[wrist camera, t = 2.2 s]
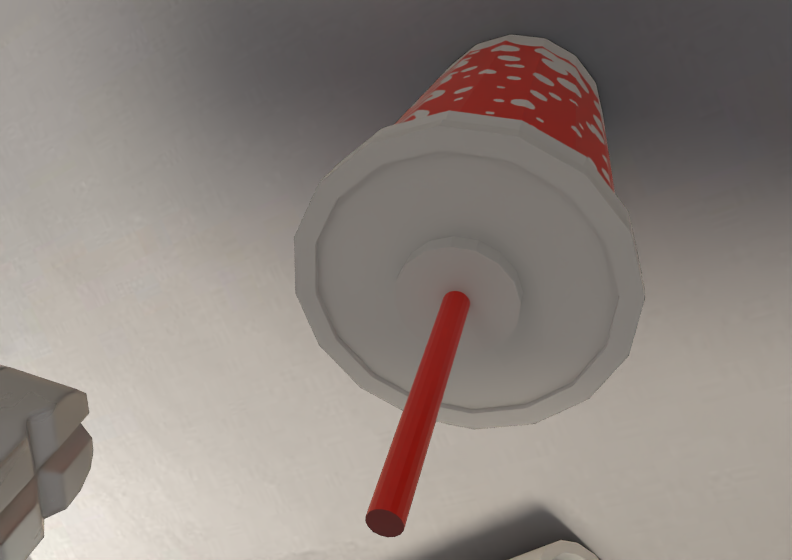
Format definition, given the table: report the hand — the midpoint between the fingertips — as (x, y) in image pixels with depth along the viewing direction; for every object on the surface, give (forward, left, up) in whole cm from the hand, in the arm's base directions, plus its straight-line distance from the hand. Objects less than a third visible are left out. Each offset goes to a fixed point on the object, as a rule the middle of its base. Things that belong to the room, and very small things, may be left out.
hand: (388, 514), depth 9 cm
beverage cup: (0, 0, -14) cm, 14 cm away
